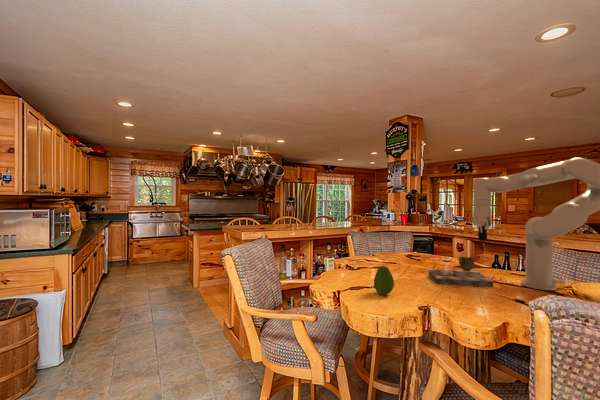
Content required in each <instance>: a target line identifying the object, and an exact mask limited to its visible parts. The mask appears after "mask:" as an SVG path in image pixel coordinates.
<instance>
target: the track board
mask: <svg viewBox="0 0 600 400" xmlns="http://www.w3.org/2000/svg"><path fill="white" fill-rule="evenodd" d="M440 270H441V269H436V268H435V269H434V268H429V269H428V277H429V278H430V279H431V280H432V281H433V282H434V283H435V285H452V286H466V287H467V286H469V287H488V288H493V287H494V279H493V278H488V277H487V276H484V275H483V274H481V271H479V270H477V271H475V270H470V271H463V270H461V269H460V270H456V269H454V270H453V269H450V270H451V271H452V272H453V277H449V276H440V275H439V272H440Z"/></svg>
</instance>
